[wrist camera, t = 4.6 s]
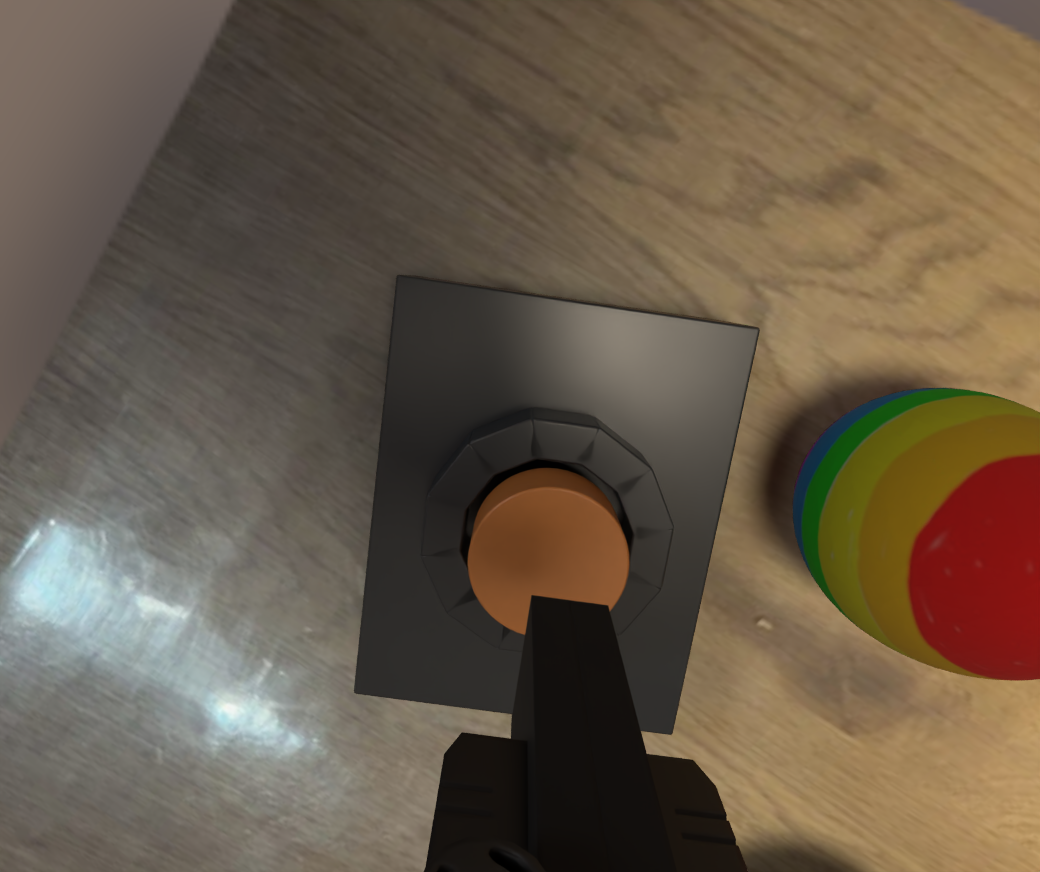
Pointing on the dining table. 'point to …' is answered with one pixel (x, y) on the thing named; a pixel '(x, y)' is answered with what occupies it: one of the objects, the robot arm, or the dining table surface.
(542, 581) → the orange button
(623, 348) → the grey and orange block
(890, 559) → the decorative egg
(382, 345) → the dining table surface
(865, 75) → the dining table surface
